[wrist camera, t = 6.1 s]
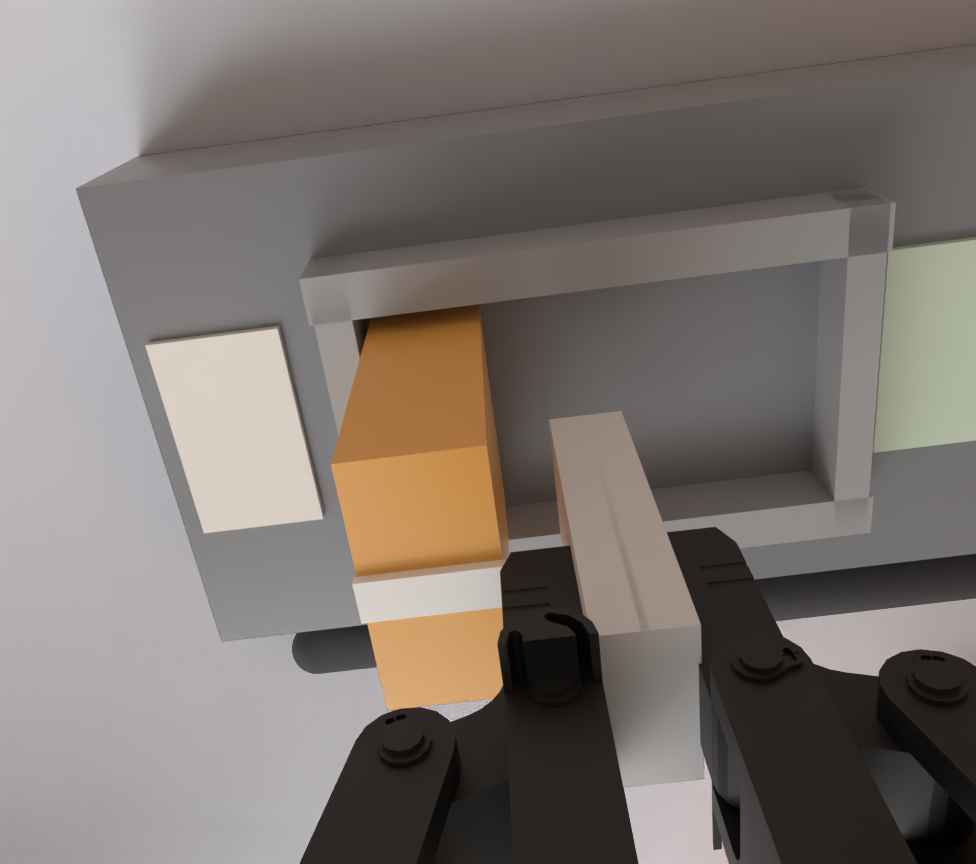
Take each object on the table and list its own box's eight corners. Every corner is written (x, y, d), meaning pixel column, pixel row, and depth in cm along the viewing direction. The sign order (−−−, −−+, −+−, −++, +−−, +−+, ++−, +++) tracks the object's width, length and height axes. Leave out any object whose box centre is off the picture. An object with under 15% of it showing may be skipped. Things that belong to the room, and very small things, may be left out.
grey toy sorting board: (253, 556, 28) (207, 680, 23) (137, 156, 22) (46, 204, 17) (1111, 454, 27) (1257, 559, 22) (1202, 13, 22) (1423, 21, 17)
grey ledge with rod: (302, 653, 29) (294, 687, 28) (279, 567, 28) (269, 599, 26) (1066, 564, 29) (1098, 595, 27) (1085, 471, 27) (1119, 498, 26)
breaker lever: (405, 506, 22) (383, 719, 16) (369, 315, 20) (325, 471, 14) (506, 494, 22) (525, 703, 16) (480, 301, 20) (490, 450, 14)
